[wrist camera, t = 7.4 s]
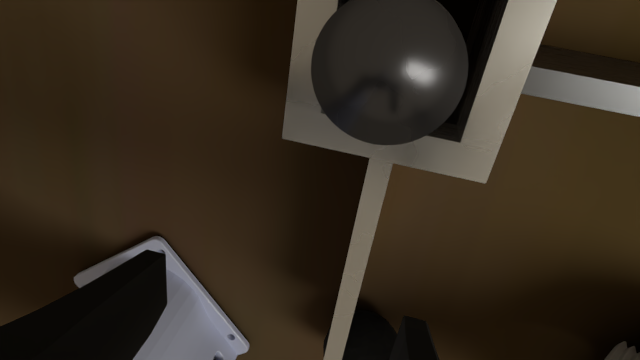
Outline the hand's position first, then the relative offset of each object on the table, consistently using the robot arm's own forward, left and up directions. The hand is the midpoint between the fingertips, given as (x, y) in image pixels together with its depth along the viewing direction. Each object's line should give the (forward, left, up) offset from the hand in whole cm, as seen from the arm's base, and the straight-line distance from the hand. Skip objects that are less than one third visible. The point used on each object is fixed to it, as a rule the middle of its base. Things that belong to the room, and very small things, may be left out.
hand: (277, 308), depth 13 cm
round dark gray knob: (+4, -6, -9) cm, 12 cm away
